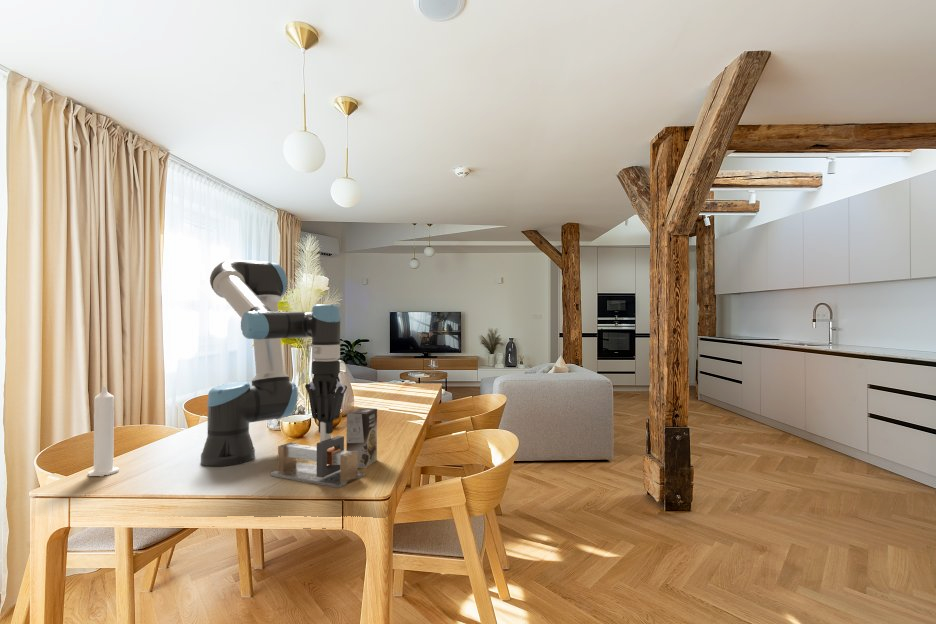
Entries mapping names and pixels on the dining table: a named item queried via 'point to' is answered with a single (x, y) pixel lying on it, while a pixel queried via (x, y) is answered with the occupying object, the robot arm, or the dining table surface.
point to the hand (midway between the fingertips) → (325, 444)
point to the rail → (309, 471)
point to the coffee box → (363, 435)
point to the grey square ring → (322, 455)
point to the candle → (103, 434)
